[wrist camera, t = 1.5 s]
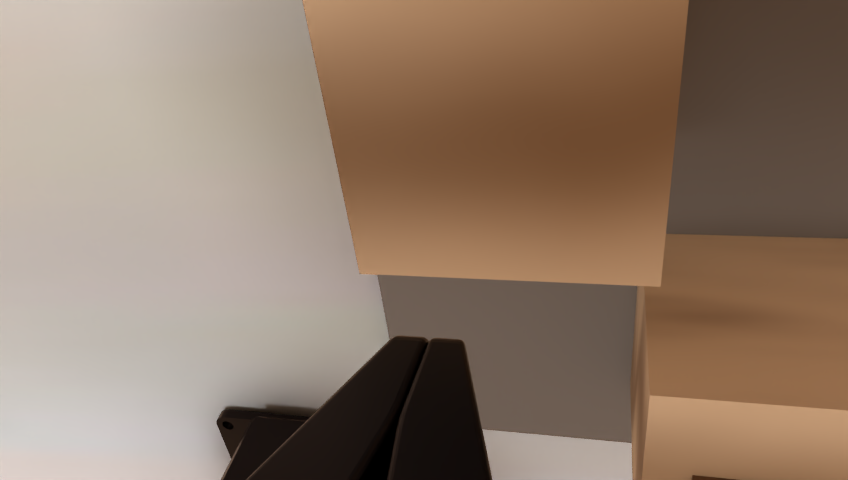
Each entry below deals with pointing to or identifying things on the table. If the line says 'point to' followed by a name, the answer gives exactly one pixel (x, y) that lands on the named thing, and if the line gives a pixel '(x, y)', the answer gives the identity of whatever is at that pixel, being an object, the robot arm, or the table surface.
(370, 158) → the plain block
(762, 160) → the mat
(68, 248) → the table surface
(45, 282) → the table surface
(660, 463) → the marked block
